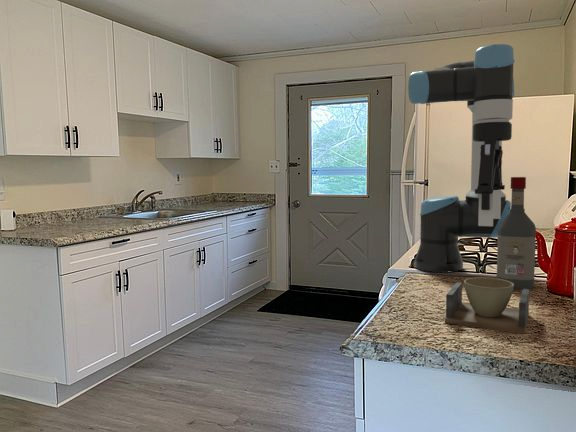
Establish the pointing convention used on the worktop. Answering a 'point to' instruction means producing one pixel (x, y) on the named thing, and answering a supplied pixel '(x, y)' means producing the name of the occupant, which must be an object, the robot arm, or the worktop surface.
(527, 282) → the liquor
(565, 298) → the worktop surface
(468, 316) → the cradle
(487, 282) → the flower pot
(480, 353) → the worktop surface
